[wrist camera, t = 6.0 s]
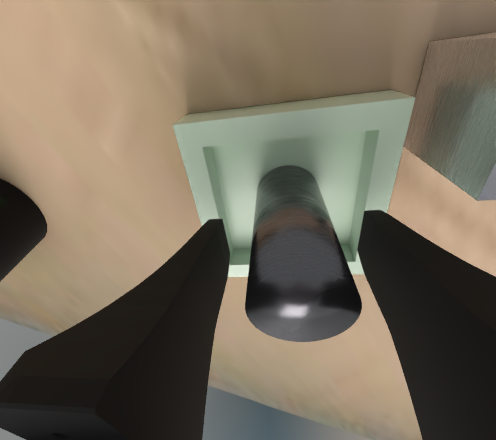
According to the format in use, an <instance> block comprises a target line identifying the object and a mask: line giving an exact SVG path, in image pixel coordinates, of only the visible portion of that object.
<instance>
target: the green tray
mask: <svg viewBox="0 0 496 440" xmlns="http://www.w3.org/2000/svg"><path fill="white" fill-rule="evenodd" d="M414 101H415V97H413V96H410V95H407V94H404V93H401V92H398V91H395V90H386V91H377V92H369V93H361V94H352V95H344V96H336V97H327V98H319V99H311V100H302V101H294V102H285V103H277V104H269V105H260V106H252V107H244V108H235V109H227V110H219V111H210V112H202V113H193V114H187V115H185V116H184V117H183V118H181V119H180V120H179V121H177V122H176V123H175V124H173V128H174V132H175V135H176V138H177V142H178V145H179V149H180V152H181V156H182V159H183V163H184V166H185V170H186V173H187V176H188V180H189V183H190V187H191V190H192V194H193V197H194V201H195V204H196V208H197V211H198V214H199V218H200V221H201V225H202V226H203V225H204V224H205V223H206V222H207V221H208V220H209V219H223V223H224V227H225V232H226V236H227V241H228V245H229V250H230V263H229V272H228V277H248V273H249V263H250V254H251V244H252V234H253V225H254V215H255V205H256V196H257V188H258V185H259V183H260V181H261V179H262V178H263V177H264V176H265V175H266V174H267V173H268V172H269V171H271V170H272V169H275V168H277V167H280V166H285V165H294V166H299V167H302V168H304V169H306V170H307V171H309V172H310V173H311V174H312V175H313V176H314V178H315V179H316V181H317V184H318V186H319V189H320V192H321V194H322V197H323V200H324V202H325V205H326V207H327V210H328V213H329V215H330V218H331V221H332V223H333V226H334V229H335V231H336V234H337V237H338V239H339V242H340V245H341V247H342V250H343V253H344V255H345V258H346V261H347V263H348V266H349V269H350V271H351V274H364V271H363V268H362V265H361V262H360V258H359V254H358V251H357V248H358V242H359V237H360V231H361V226H362V220H363V215H364V211H367V210H382V211H384V212H386V213H387V210H388V206H389V202H390V198H391V194H392V190H393V186H394V182H395V178H396V174H397V170H398V166H399V162H400V158H401V154H402V150H403V146H404V142H405V138H406V134H407V130H408V125H409V121H410V117H411V113H412V109H413V105H414Z"/></svg>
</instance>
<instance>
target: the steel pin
mask: <svg viewBox="0 0 496 440" xmlns="http://www.w3.org/2000/svg"><path fill="white" fill-rule="evenodd" d="M361 309H362V302H361V298H360V295H359V293H358V290H357V287H356V285H355V282H354V279H353V277H352V274H351V271H350V269H349V266H348V263H347V261H346V258H345V255H344V253H343V250H342V247H341V245H340V242H339V239H338V237H337V234H336V231H335V229H334V226H333V223H332V221H331V218H330V215H329V213H328V210H327V207H326V205H325V202H324V200H323V197H322V194H321V192H320V189H319V186H318V184H317V181H316V179H315V178H314V176H313V175H312V174H311V173H310V172H309V171H307V170H306V169H304V168H302V167H299V166H294V165H285V166H280V167H277V168H275V169H272V170H271V171H269V172H268V173H267V174H266V175H265V176H264V177H263V178H262V179H261V181H260V183H259V185H258V188H257V196H256V205H255V215H254V225H253V234H252V244H251V254H250V263H249V273H248V283H247V292H246V302H245V310H246V314H247V317H248V318H249V320H250V321H251V323H252V324H253V325H254V326H255V327H256V328H257V329H259V330H260V331H262V332H264V333H265V334H267V335H270V336H272V337H275V338H278V339H282V340H287V341H295V342H310V341H318V340H323V339H327V338H330V337H333V336H336V335H338V334H340V333H342V332H344V331H345V330H347V329H348V328H349V327H351V326H352V325H353V324H354V323H355V322H356V320H357V319H358V317H359V315H360V313H361Z"/></svg>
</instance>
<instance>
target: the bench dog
mask: <svg viewBox="0 0 496 440" xmlns="http://www.w3.org/2000/svg"><path fill="white" fill-rule="evenodd" d="M403 147H405V148H406V149H407V150H409V151H410V152H411V153H413V154H414V155H416V156H417V157H418V158H420V159H421V160H422V161H424V162H425V163H426V164H428V165H429V166H431V167H432V168H433V169H435V170H436V171H437V172H439V173H440V174H441V175H443V176H444V177H446V178H447V179H448V180H450V181H451V182H452V183H454V184H455V185H457V186H458V187H459V188H461V189H462V190H463V191H465V192H466V193H467V194H469V195H470V196H472V197H473V198H474V199H476V200H477V201H480V200H496V32H493V33H486V34H479V35H472V36H465V37H458V38H451V39H444V40H437V41H430V42H429V45H428V49H427V53H426V57H425V61H424V65H423V69H422V73H421V77H420V81H419V85H418V89H417V93H416V97H415V101H414V105H413V109H412V113H411V117H410V122H409V126H408V130H407V134H406V138H405V142H404V146H403Z"/></svg>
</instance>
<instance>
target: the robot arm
mask: <svg viewBox="0 0 496 440" xmlns="http://www.w3.org/2000/svg"><path fill="white" fill-rule="evenodd" d="M357 251H358V254H359V258H360V262H361V265H362V268H363V271H364V274H365V276H366V278H367V281H368V283H369V285H370V287H371V290H372V292H373V294H374V296H375V298H376V301H377V303H378V305H379V307H380V310H381V312H382V314H383V316H384V318H385V321H386V323H387V325H388V328H389V330H390V333H391V336H392V339H393V342H394V345H395V348H396V351H397V354H398V357H399V360H400V363H401V366H402V369H403V373H404V376H405V379H406V382H407V386H408V389H409V392H410V396H411V399H412V403H413V406H414V410H415V413H416V417H417V420H418V424H419V427H420V431H421V435H422V439H423V440H496V277H495V276H493V275H491V274H489V273H487V272H485V271H483V270H481V269H479V268H477V267H475V266H473V265H471V264H469V263H467V262H465V261H463V260H461V259H460V258H458V257H456V256H454V255H453V254H451V253H449V252H447V251H446V250H444V249H442V248H440V247H439V246H437V245H436V244H434V243H432V242H431V241H429V240H427V239H426V238H424V237H423V236H421V235H419V234H418V233H416V232H415V231H413V230H412V229H410V228H409V227H407V226H406V225H404V224H403V223H401V222H400V221H398V220H396V219H395V218H393V217H392V216H390V215H389V214H387V213H386V212H384V211H382V210H367V211H364V215H363V220H362V226H361V231H360V237H359V242H358V248H357ZM229 263H230V250H229V245H228V241H227V236H226V232H225V227H224V223H223V219H209V220H208V221H207V222H206V223H205V224H204V225H203V226H202V227H201V228H200V229H199V230H198V231H197V232H196V233H195V234H194V235H193V236H192V237H191V238H190V239H189V240H188V242H187V243H186V244H185V245H184V246H183V247H182V248H181V249H180V250H179V251H177V252H176V253H175V254H174V255H173V256H172V257H171V258H170V259H169V260H168V261H167V262H166V263H165V264H163V265H162V266H161V267H160V268H159V269H158V270H157V271H155V272H154V273H153V274H152V275H150V276H149V277H148V278H147V279H145V280H144V281H143V282H141V283H140V284H139V285H137V286H136V287H135V288H133V289H132V290H130V291H129V292H127V293H126V294H124V295H123V296H122V297H120V298H119V299H117V300H116V301H114V302H113V303H111V304H110V305H108V306H107V307H105V308H103V309H102V310H100V311H99V312H97V313H95V314H94V315H92V316H90V317H88V318H87V319H85V320H83V321H82V322H80V323H78V324H76V325H75V326H73V327H71V328H69V329H67V330H65V331H64V332H62V333H60V334H58V335H56V336H54V337H52V338H50V339H48V340H46V341H44V342H42V343H41V344H39V345H37V346H35V347H33V348H31V349H29V350H27V351H25V352H24V353H23V354H22V356H21V357H20V358H19V359H18V361H17V362H16V363H15V364H14V365H13V367H12V368H11V369H10V370H9V372H8V373H7V374H6V375H5V377H4V378H3V379H2V380H1V381H0V428H2V429H4V430H7V431H9V432H11V433H13V434H15V435H17V436H20V437H22V438H24V439H26V440H202V434H203V425H204V414H205V404H206V395H207V386H208V377H209V369H210V361H211V354H212V347H213V340H214V333H215V328H216V323H217V318H218V314H219V310H220V306H221V302H222V298H223V294H224V290H225V286H226V282H227V277H228V272H229Z"/></svg>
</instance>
